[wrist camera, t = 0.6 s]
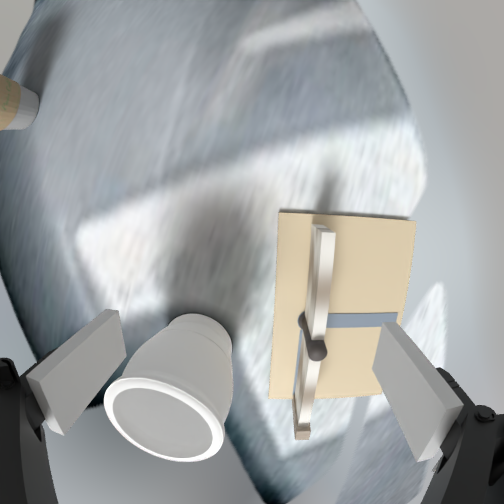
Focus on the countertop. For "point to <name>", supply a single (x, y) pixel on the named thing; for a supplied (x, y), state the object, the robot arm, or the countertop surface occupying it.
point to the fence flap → (318, 290)
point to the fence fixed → (304, 391)
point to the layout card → (340, 299)
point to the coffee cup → (16, 105)
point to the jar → (176, 391)
